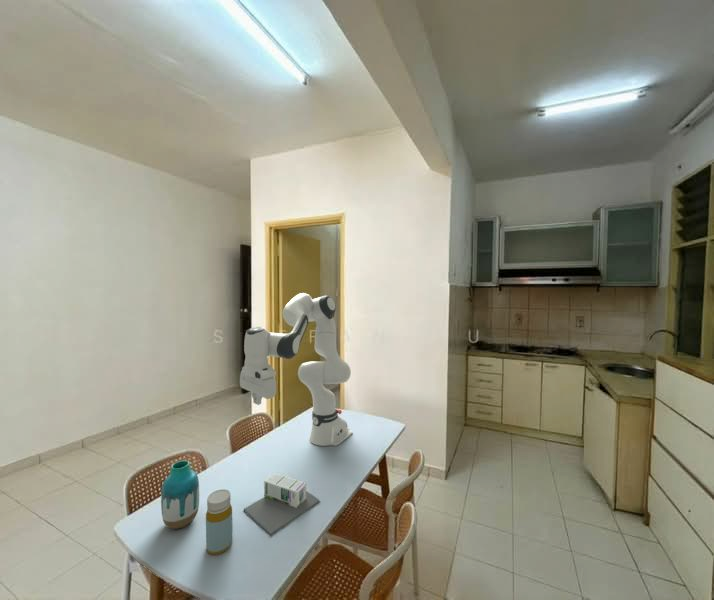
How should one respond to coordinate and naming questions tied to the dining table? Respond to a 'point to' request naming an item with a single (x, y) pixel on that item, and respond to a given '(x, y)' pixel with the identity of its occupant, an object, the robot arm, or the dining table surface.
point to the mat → (277, 512)
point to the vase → (180, 495)
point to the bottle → (218, 522)
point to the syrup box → (285, 490)
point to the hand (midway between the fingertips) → (257, 403)
